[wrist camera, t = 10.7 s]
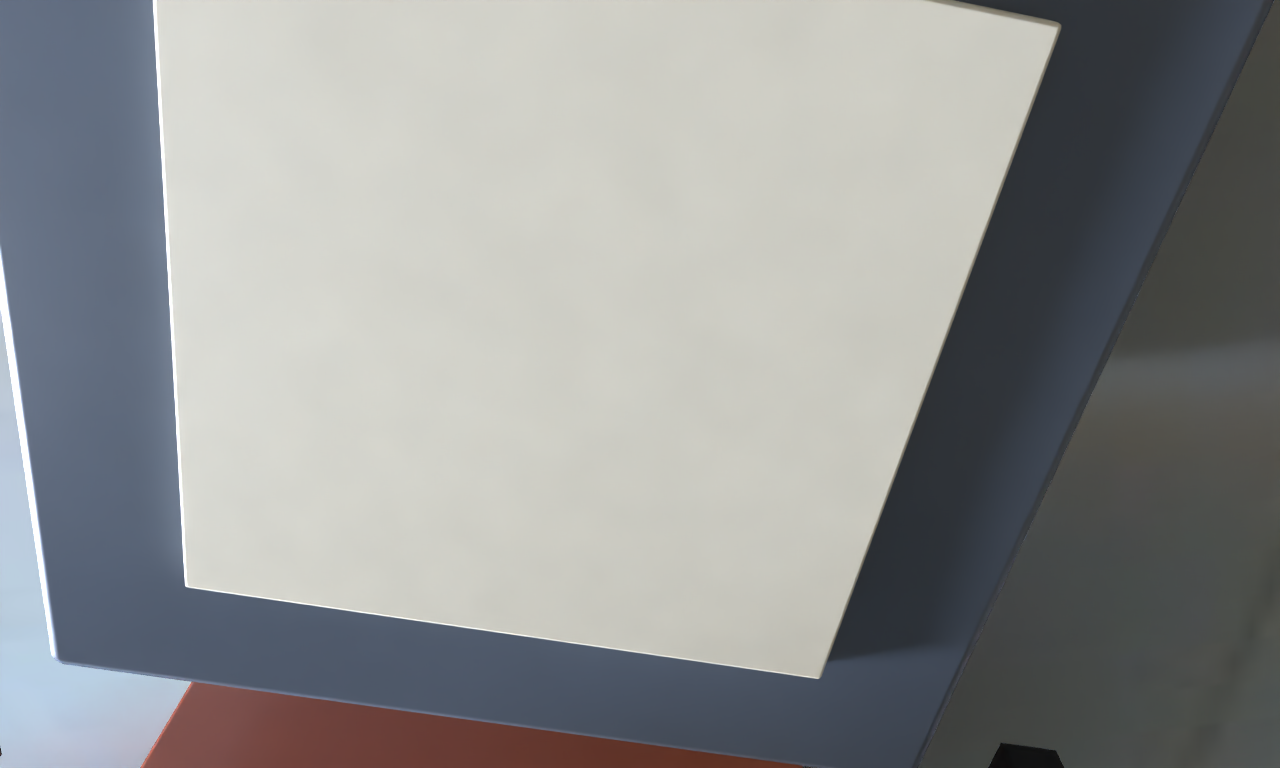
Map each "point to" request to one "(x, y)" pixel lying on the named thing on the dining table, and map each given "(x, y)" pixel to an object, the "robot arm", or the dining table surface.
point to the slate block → (575, 339)
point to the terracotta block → (383, 739)
